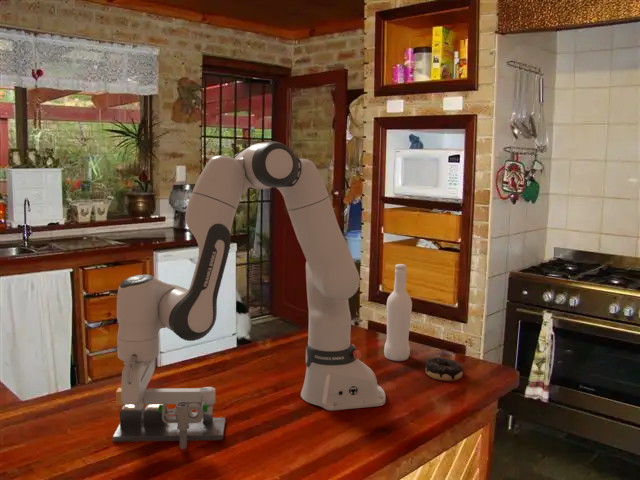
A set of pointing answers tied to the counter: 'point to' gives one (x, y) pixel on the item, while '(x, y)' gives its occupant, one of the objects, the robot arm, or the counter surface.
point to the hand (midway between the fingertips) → (139, 406)
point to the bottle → (398, 318)
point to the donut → (444, 369)
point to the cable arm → (174, 395)
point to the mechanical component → (183, 416)
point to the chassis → (174, 430)
